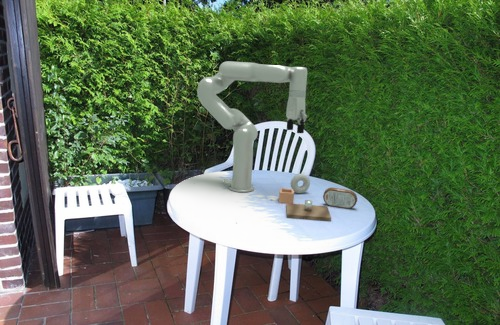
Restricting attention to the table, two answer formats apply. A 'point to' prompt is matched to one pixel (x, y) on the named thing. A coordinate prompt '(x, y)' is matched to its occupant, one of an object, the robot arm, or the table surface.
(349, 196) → the tin
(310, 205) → the domed metal cylinder
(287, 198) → the hollow square tube
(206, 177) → the table surface
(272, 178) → the table surface
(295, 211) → the board
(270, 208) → the table surface
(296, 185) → the donut
